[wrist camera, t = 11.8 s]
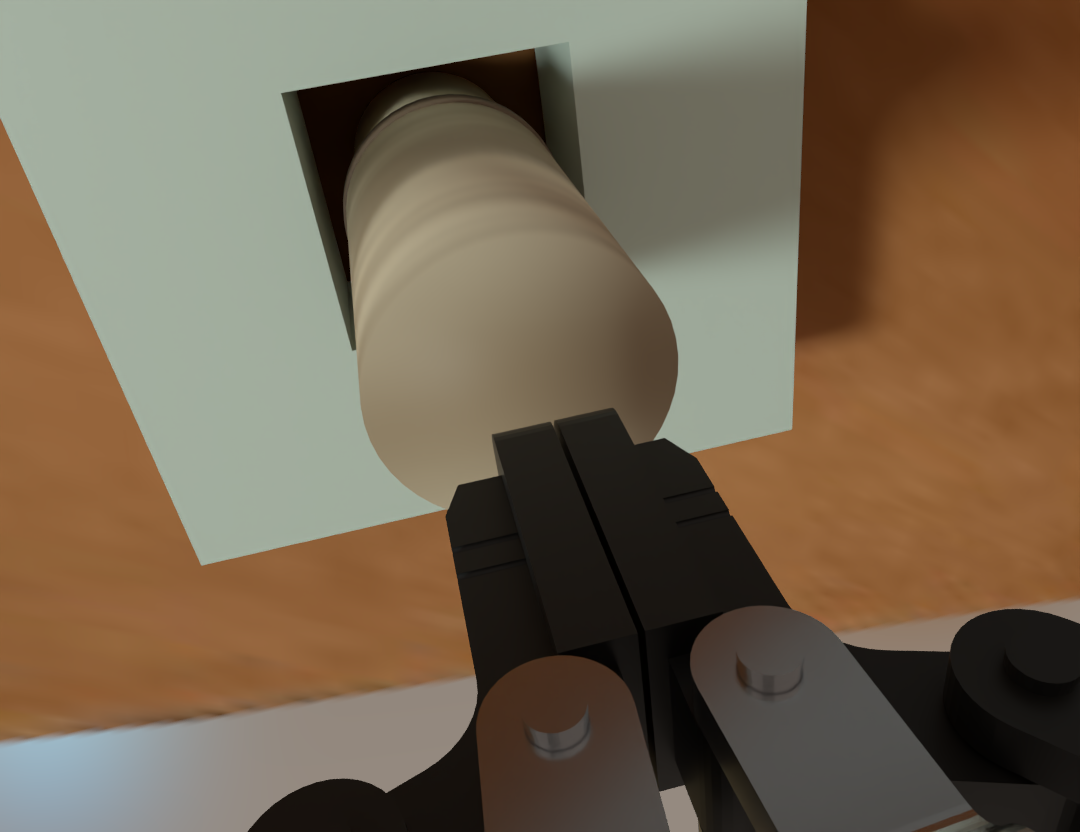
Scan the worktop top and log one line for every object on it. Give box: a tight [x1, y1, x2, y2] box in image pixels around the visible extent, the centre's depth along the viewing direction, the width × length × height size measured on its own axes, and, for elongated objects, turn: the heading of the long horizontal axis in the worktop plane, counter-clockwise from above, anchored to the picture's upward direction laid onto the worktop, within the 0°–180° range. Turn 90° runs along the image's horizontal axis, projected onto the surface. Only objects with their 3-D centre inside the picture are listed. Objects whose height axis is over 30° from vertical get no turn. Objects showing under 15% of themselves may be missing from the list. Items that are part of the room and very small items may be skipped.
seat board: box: [0, 0, 807, 566], centre depth 21 cm, size 16×16×4 cm
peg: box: [343, 72, 678, 510], centre depth 18 cm, size 5×5×12 cm
